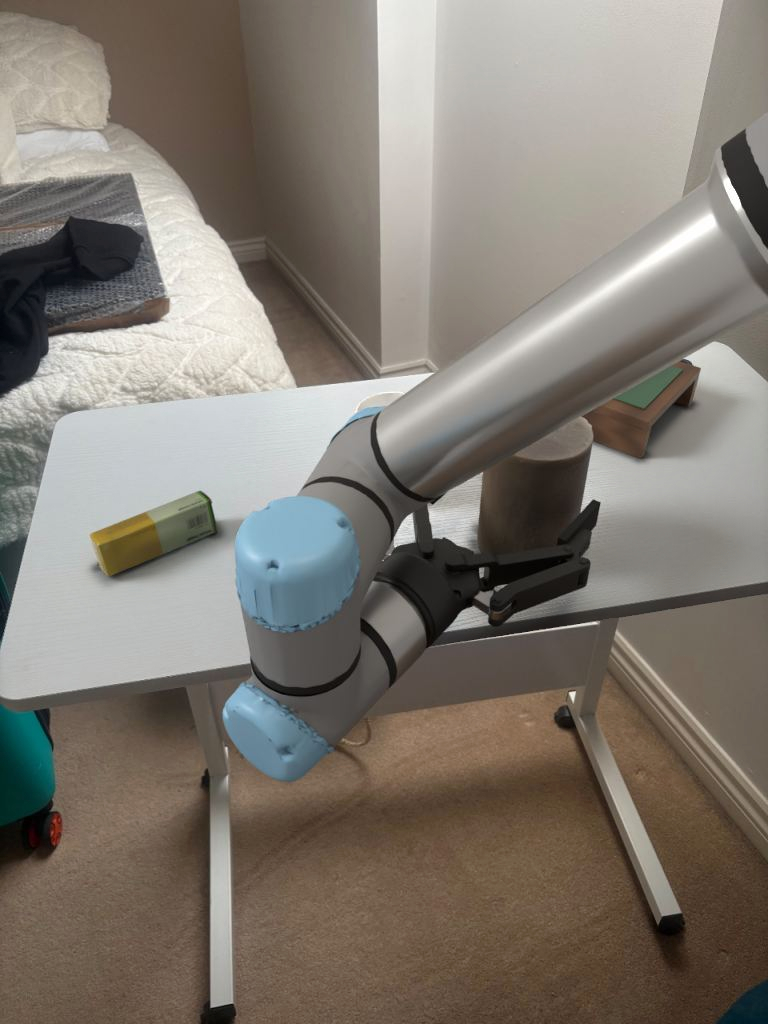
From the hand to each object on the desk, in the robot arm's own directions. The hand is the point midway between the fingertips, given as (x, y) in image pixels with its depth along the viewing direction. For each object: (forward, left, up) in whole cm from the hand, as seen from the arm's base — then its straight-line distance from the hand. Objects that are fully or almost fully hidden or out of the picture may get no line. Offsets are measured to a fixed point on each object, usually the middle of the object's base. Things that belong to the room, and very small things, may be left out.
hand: (529, 484), depth 78 cm
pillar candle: (0, -1, -8) cm, 8 cm away
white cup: (+16, 0, -8) cm, 18 cm away
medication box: (+29, +22, -8) cm, 37 cm away
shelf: (+4, -29, -8) cm, 30 cm away
